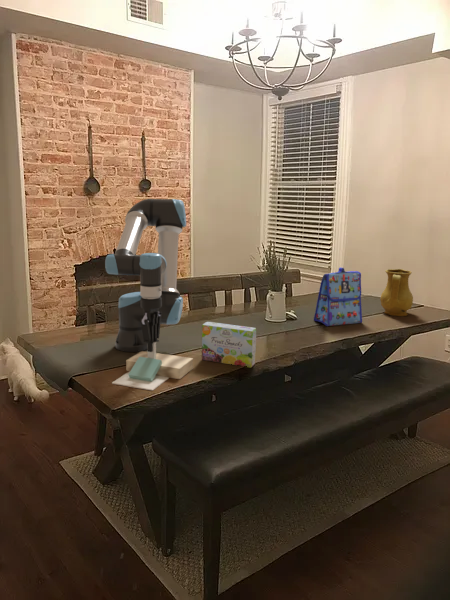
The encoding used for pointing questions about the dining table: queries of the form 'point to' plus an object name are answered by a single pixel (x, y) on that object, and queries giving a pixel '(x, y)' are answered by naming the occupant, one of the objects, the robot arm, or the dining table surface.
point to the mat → (140, 382)
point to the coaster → (145, 369)
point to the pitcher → (397, 293)
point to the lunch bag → (339, 299)
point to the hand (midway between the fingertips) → (151, 359)
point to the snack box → (229, 344)
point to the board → (166, 364)
